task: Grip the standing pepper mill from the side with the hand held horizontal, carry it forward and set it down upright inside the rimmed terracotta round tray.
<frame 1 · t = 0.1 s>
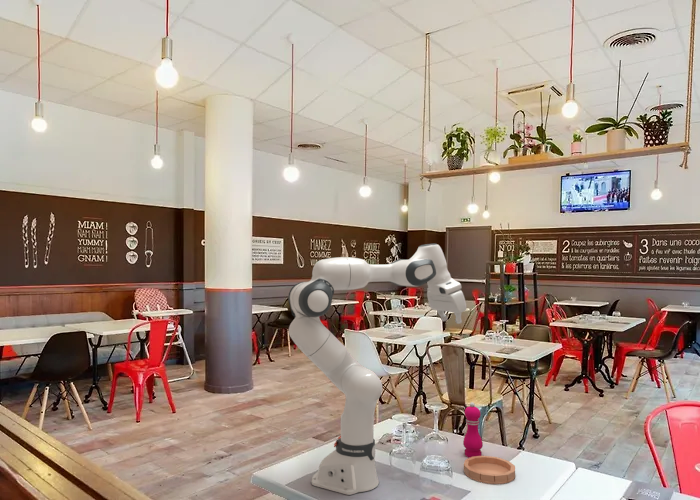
hand: (451, 321, 178), 52 cm above the table, tool tilted 20°, fingers open, 8 cm apart
round tray: (489, 473, 170), on the table
pepper mill: (473, 455, 186), on the table
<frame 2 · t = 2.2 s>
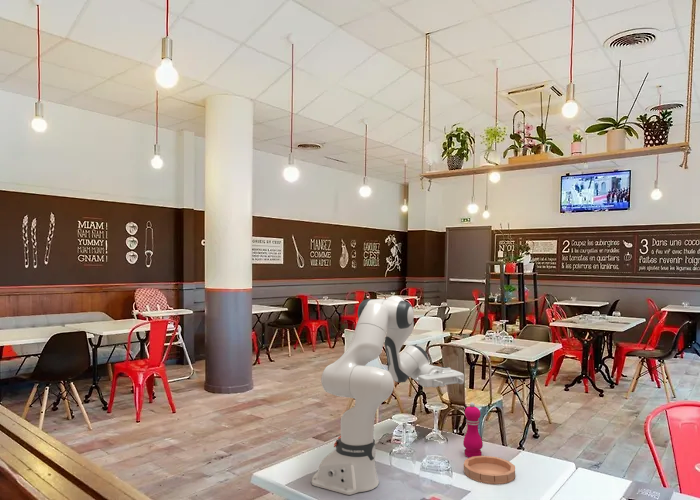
hand: (452, 383, 198), 25 cm above the table, tool horizontal, fingers open, 8 cm apart
nothing on the table moved.
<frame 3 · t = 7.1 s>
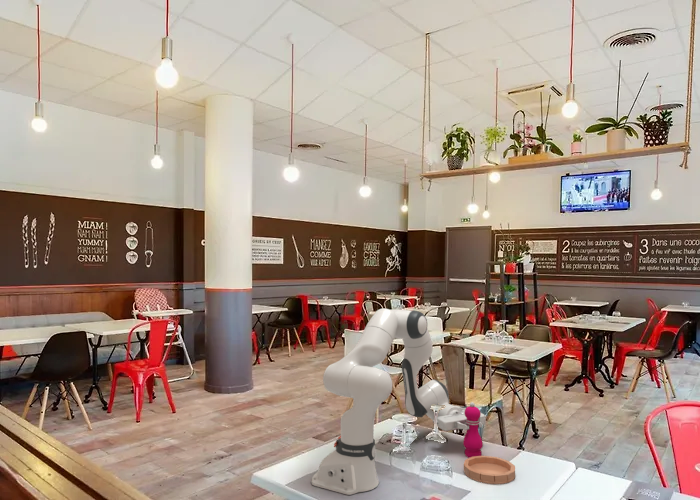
hand: (474, 426, 186), 11 cm above the table, tool horizontal, fingers closed on pepper mill, 5 cm apart
pepper mill: (473, 455, 186), on the table, touching gripper
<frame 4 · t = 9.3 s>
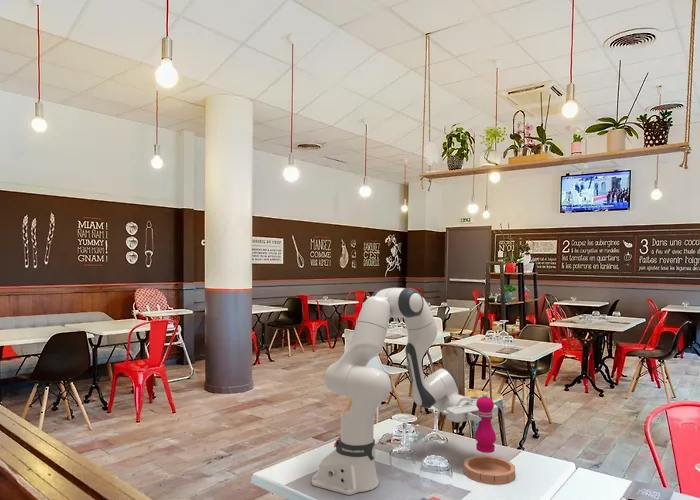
hand: (486, 418, 172), 18 cm above the table, tool horizontal, fingers closed on pepper mill, 5 cm apart
pepper mill: (485, 450, 173), point 7 cm above the table, touching gripper
when the fingers open (13 cm above the table, at t = 11.7 s): pepper mill moves 4 cm, resting on round tray.
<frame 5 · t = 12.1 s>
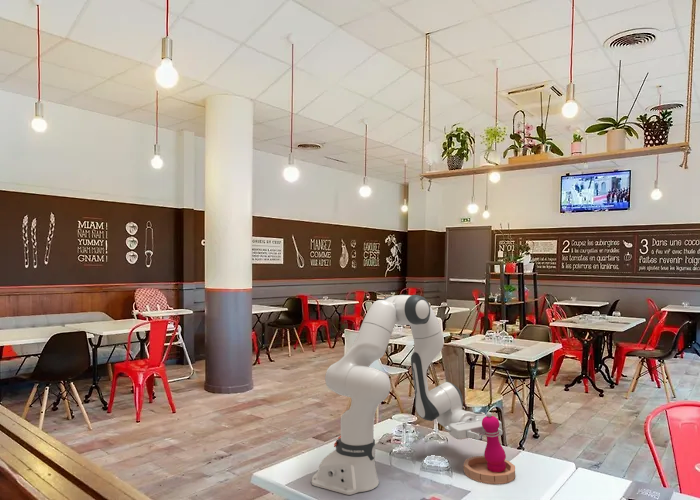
hand: (490, 435, 170), 13 cm above the table, tool horizontal, fingers open, 8 cm apart
pepper mill: (496, 468, 172), point 1 cm above the table, touching gripper, round tray
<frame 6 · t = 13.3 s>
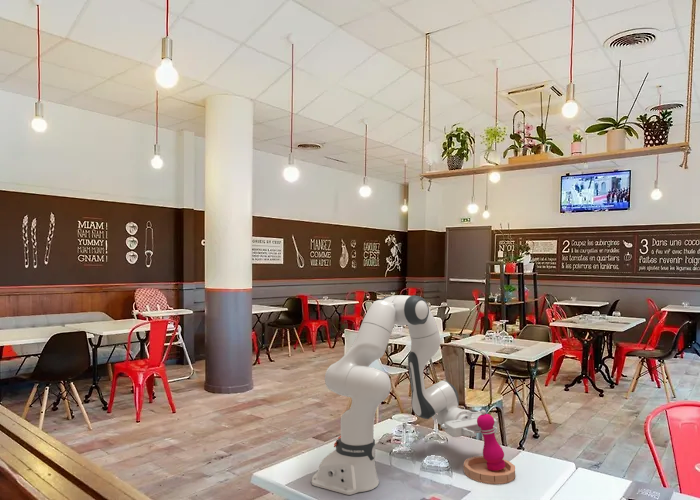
hand: (485, 432, 172), 14 cm above the table, tool horizontal, fingers open, 8 cm apart
pepper mill: (496, 467, 172), point 1 cm above the table, touching round tray
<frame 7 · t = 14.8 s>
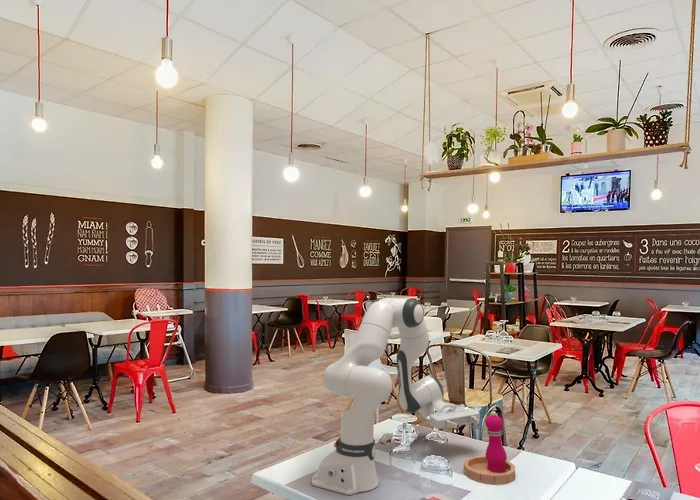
hand: (467, 424, 181), 14 cm above the table, tool horizontal, fingers open, 8 cm apart
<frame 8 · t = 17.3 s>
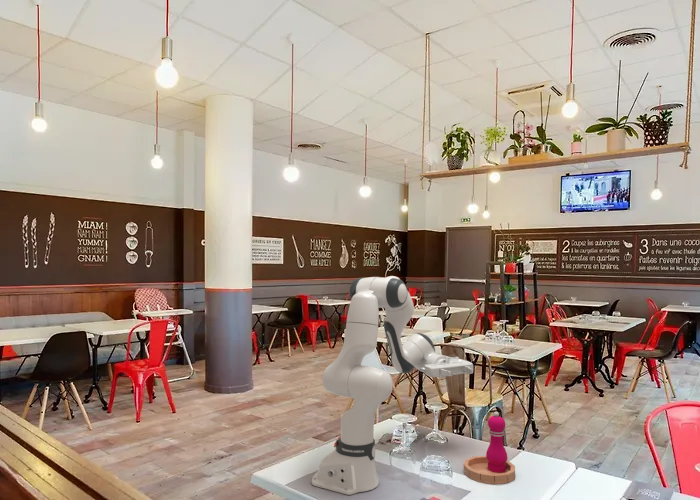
hand: (461, 372, 184), 32 cm above the table, tool horizontal, fingers open, 8 cm apart
at the end: pepper mill 3.5 cm off-centre on the round tray, point 0.6 cm above the round tray's base; pepper mill tilted 1°; the gripper is holding nothing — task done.
